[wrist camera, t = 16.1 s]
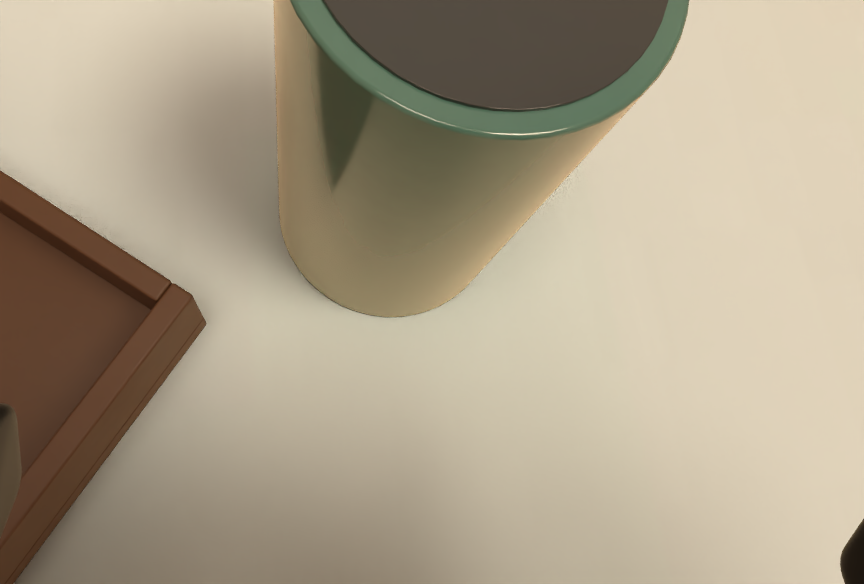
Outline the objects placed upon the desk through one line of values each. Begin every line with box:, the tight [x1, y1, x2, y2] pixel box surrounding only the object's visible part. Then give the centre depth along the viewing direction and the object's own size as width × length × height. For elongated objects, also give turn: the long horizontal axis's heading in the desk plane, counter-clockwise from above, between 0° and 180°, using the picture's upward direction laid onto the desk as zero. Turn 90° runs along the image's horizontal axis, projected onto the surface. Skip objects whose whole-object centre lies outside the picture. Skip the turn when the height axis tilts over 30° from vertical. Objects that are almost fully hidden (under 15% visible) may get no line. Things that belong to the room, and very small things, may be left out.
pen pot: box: [273, 0, 689, 317], centre depth 17 cm, size 6×6×12 cm
